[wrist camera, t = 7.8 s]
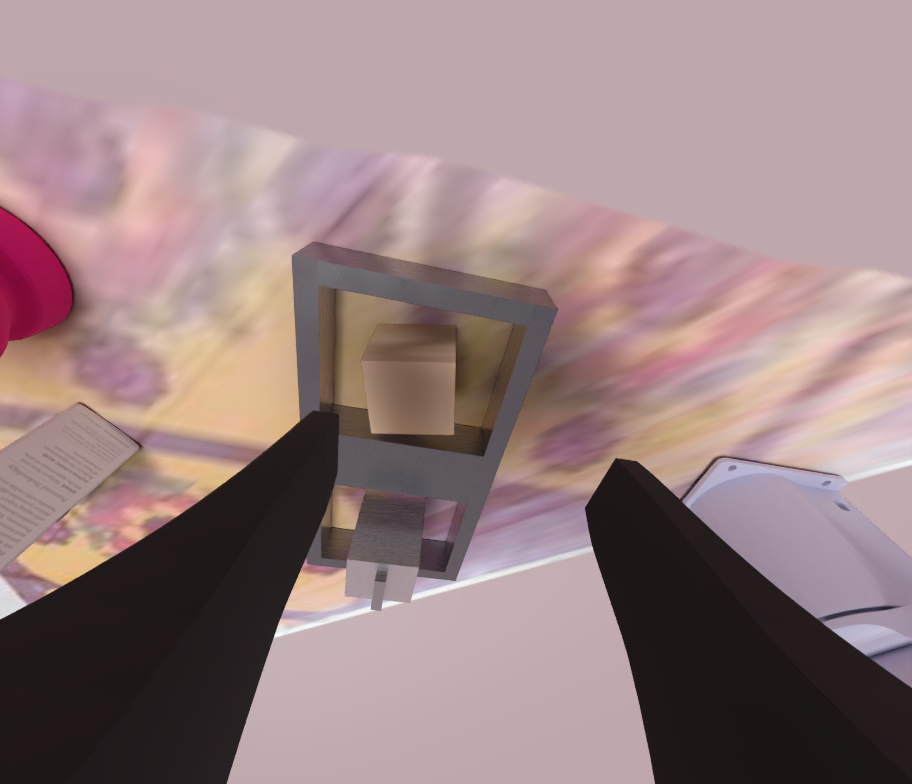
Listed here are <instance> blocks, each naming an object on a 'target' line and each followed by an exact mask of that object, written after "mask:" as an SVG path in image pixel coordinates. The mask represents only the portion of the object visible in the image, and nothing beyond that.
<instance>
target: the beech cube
mask: <svg viewBox="0 0 912 784" xmlns="http://www.w3.org/2000/svg"><path fill="white" fill-rule="evenodd" d="M361 365H362V372H363V379H364V386H365V393H366V400H367V407H368V414H369V421H370V428H371V433H376V434H427V435H454V410H455V369H456V325H413V324H378V325H377V327H376V329H375V331H374V334H373V336H372V338H371V340H370V342H369V344H368V346H367V349H366V351H365V353H364V355H363V357H362V359H361Z"/></svg>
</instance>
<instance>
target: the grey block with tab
mask: <svg viewBox="0 0 912 784" xmlns="http://www.w3.org/2000/svg"><path fill="white" fill-rule="evenodd" d="M425 499H426V497H422V496H415V495H407V494H400V493H393V492H385V491H378V490H371V489H366V491H365V495H364V499H363V502H362V506H361V510H360V513H359V517H358V521H357V524H356V528H355V532H354V535H353V539H352V543H351V546H350V550H349V554H348V557H347V567H346V586H345V596H349V597H358V598H368V599H372V604H371V610H379V611H381V607H382V601H383V600H387V601H397V602H407V603H410V601H411V597H412V593H413V589H414V586H415V582H416V578H417V574H418V570H419V563H420V552H421V541H422V531H423V520H424V509H425Z"/></svg>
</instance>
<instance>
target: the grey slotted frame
mask: <svg viewBox="0 0 912 784" xmlns="http://www.w3.org/2000/svg"><path fill="white" fill-rule="evenodd" d="M292 270H293V290H294V310H295V329H296V349H297V369H298V389H299V409H300V421H301V420H302V419H303V418H304V417H305V416H307V415H308V414H309V413H310V412H312V411H313V410H315V411H321V412H328V413H334V414H339V443H338V474H337V477H336V480H335V485H342V486H349V487H356V488H364V489H371V490H378V491H385V492H393V493H400V494H407V495H415V496H422V497H429V498H436V499H444V500H451V501H458V505H457V508H456V511H455V514H454V517H453V521H452V524H451V527H450V530H449V533H448V537H447V540H446V542H443V541H435V540H427V539H422V541H421V552H420V563H419V570H418V574H417V577H426V578H435V579H444V580H452V581H456V578H457V575H458V573H459V570H460V567H461V565H462V562H463V559H464V557H465V554H466V552H467V549H468V546H469V544H470V541H471V538H472V536H473V533H474V530H475V528H476V525H477V522H478V520H479V517H480V514H481V512H482V509H483V506H484V504H485V501H486V498H487V496H488V493H489V491H490V488H491V485H492V483H493V480H494V477H495V475H496V472H497V469H498V467H499V464H500V461H501V459H502V456H503V453H504V451H505V448H506V445H507V443H508V440H509V438H510V435H511V432H512V430H513V427H514V424H515V422H516V419H517V416H518V414H519V411H520V408H521V406H522V403H523V400H524V398H525V395H526V392H527V390H528V387H529V385H530V382H531V379H532V377H533V374H534V371H535V369H536V366H537V363H538V361H539V358H540V355H541V353H542V350H543V347H544V345H545V342H546V339H547V337H548V334H549V331H550V329H551V326H552V324H553V321H554V318H555V316H556V313H557V310H558V308H557V307H556V305H555V304H554V302H553V301H552V299H551V297H550V296H549V294H548V293H547V291H546V290H542V289H537V288H533V287H528V286H523V285H518V284H513V283H509V282H504V281H499V280H494V279H489V278H485V277H480V276H475V275H470V274H465V273H460V272H456V271H451V270H446V269H441V268H436V267H432V266H427V265H422V264H417V263H412V262H408V261H403V260H398V259H393V258H388V257H383V256H379V255H374V254H369V253H364V252H359V251H355V250H350V249H345V248H340V247H335V246H331V245H326V244H321V243H316V242H312V243H311V244H309V245H307V246H306V247H304V248H302V249H301V250H299V251H298V252H296V253H294V254H293V255H292ZM335 289H340V290H345V291H351V292H356V293H361V294H366V295H371V296H376V297H381V298H386V299H392V300H397V301H402V302H407V303H412V304H417V305H422V306H427V307H433V308H438V309H443V310H448V311H453V312H458V313H463V314H468V315H473V316H479V317H484V318H489V319H494V320H499V321H504V322H509V323H514V326H513V329H512V333H511V336H510V339H509V342H508V345H507V348H506V352H505V355H504V358H503V361H502V364H501V368H500V371H499V374H498V377H497V380H496V384H495V387H494V390H493V393H492V396H491V399H490V403H489V406H488V409H487V412H486V415H485V419H484V422H483V425H482V428H477V427H471V426H465V425H458V424H454V435H427V434H376V433H371V428H370V421H369V414H368V410H365V409H359V408H353V407H347V406H340V405H334V404H333V393H334V326H335ZM331 527H332V494H331V497H330V500H329V503H328V506H327V510H326V512H325V515H324V517H323V519H322V522H321V524H320V526H319V529H318V531H317V533H316V536H315V538H314V540H313V543H312V545H311V547H310V550H309V552H308V554H307V564H311V565H319V566H328V567H337V568H346V567H347V557H348V554H349V550H350V546H351V543H352V539H353V535H354V532H355V530H347V529H339V528H331Z"/></svg>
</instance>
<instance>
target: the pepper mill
mask: <svg viewBox="0 0 912 784" xmlns="http://www.w3.org/2000/svg"><path fill="white" fill-rule="evenodd" d="M71 305H72V289H71V286H70V283H69V280H68V277H67V275H66V272H65V270H64V268H63V267H62V265H61V264H60V262H59V261H58V259H57V258H56V256H55V254H54V253H53V252H52V251H51V250H50V249H49V247H48V246H47V245H46V244H45V243H44V242H43V241H42V240H41V238H40V237H39V236H38V235H36V234H35V233H34V232H33V231H32V230H31V229H29V228H28V227H27V226H26V225H25V224H23V223H22V222H21V221H20V220H19V219H17V218H16V217H14V216H12V215H11V214H9V213H8V212H6V211H4V210H3V209H1V208H0V357H1V356H2V354H3V353H4V351H5V349H6V347H7V343H8V341H14V340H21V339H24V338H27V337H30V336H32V335H34V334H37V333H39V332H41V331H44V330H46V329H48V328H51V327H53V326H55V325H57V324H59V323H60V322H62V321H63V320H64V319H65V318H66V317H67V316H68V314H69V312H70V309H71Z"/></svg>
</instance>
